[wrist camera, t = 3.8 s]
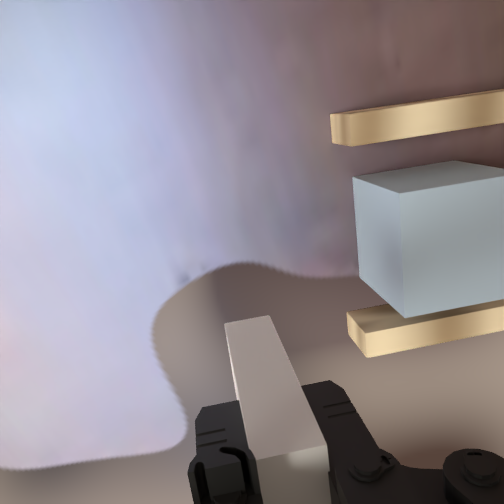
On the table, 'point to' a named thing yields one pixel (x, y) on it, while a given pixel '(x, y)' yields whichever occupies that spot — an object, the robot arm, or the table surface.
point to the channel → (404, 126)
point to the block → (432, 235)
